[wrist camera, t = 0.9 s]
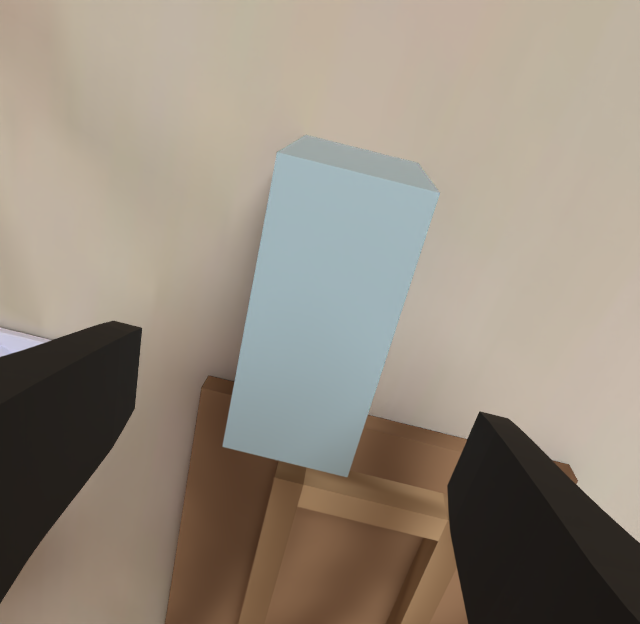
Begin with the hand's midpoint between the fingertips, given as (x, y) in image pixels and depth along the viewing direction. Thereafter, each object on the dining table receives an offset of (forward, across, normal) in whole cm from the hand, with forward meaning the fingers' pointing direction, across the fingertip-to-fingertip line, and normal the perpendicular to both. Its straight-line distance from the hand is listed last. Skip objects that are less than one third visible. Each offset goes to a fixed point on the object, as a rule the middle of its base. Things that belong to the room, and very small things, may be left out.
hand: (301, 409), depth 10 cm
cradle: (+9, -4, +15) cm, 18 cm away
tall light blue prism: (+10, 0, 0) cm, 10 cm away
